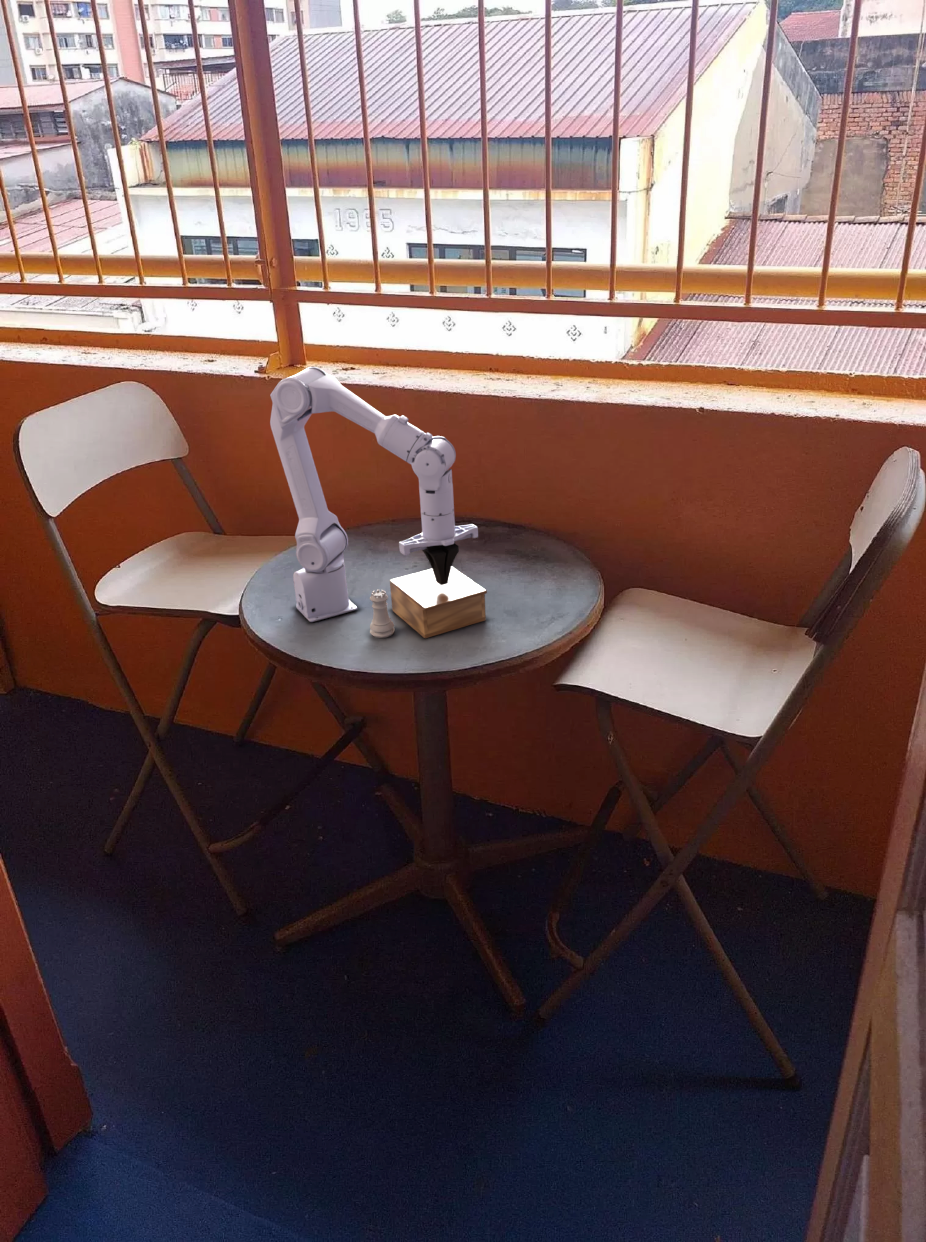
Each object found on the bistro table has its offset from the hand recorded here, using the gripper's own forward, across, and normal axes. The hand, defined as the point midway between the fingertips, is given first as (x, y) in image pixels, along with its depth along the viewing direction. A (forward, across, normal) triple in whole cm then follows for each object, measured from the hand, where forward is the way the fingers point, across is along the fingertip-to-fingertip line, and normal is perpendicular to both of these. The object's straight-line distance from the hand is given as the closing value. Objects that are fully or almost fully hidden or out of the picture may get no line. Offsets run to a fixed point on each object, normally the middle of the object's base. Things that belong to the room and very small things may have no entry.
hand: (441, 582), depth 164 cm
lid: (+2, 0, +2) cm, 3 cm away
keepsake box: (+8, 0, +2) cm, 8 cm away
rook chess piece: (+8, -11, +2) cm, 14 cm away
